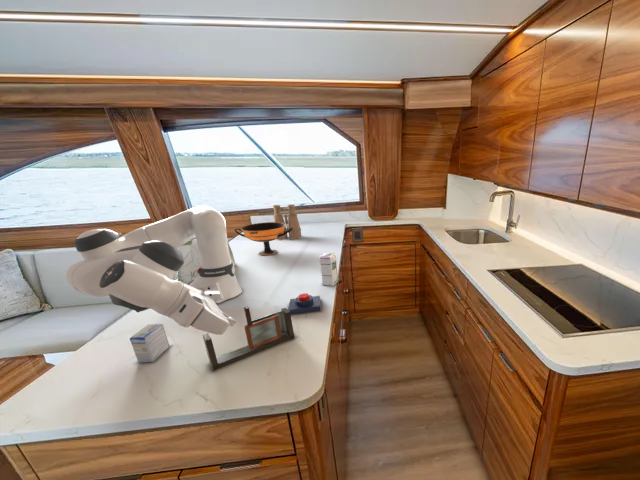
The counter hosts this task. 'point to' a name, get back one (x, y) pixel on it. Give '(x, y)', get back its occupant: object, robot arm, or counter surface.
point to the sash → (261, 330)
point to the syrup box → (328, 269)
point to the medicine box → (149, 342)
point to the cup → (264, 234)
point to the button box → (304, 305)
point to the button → (303, 297)
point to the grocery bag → (192, 261)
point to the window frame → (245, 351)
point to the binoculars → (288, 221)
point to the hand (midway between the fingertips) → (233, 322)
